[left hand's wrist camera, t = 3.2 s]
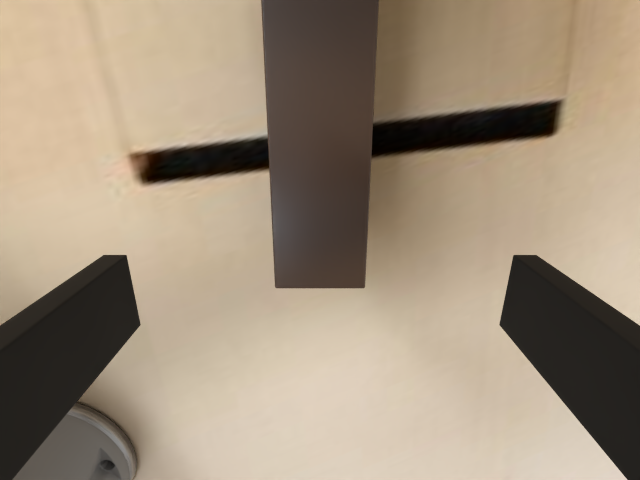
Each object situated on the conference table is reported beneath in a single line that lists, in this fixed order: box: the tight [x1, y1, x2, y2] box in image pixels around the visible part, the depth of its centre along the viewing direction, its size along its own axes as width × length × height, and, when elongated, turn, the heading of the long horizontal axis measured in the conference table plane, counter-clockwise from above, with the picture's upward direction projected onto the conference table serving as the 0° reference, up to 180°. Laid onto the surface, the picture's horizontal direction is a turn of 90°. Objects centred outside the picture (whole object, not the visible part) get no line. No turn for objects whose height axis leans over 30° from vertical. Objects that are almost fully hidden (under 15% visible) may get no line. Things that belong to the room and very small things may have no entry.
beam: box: [261, 0, 379, 288], centre depth 20 cm, size 28×5×10 cm, turn 0°
